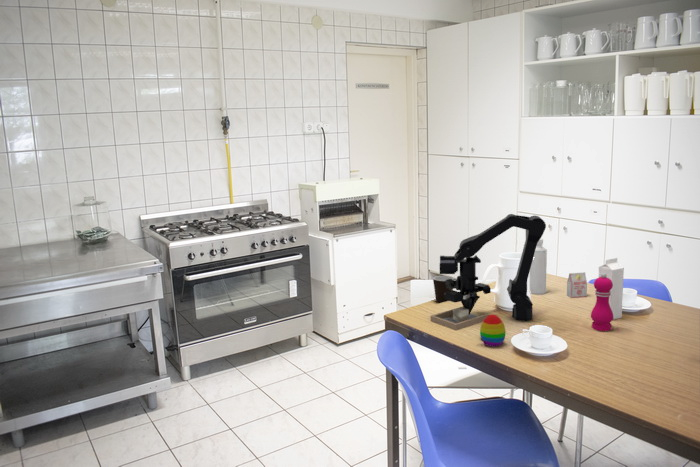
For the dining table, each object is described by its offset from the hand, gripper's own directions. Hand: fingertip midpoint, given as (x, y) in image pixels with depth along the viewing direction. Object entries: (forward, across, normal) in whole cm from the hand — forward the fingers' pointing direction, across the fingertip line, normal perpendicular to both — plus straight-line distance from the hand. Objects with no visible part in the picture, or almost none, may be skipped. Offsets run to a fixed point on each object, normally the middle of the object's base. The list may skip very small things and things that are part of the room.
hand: (467, 314), depth 213 cm
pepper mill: (+3, -30, +35) cm, 46 cm away
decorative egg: (+3, +10, +21) cm, 23 cm away
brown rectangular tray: (+3, +4, 0) cm, 5 cm away
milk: (+3, -42, +30) cm, 52 cm away
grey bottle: (+3, -49, -7) cm, 50 cm away
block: (+1, +4, 0) cm, 4 cm away
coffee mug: (+3, -12, -24) cm, 27 cm away
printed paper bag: (+3, -56, +7) cm, 57 cm away
